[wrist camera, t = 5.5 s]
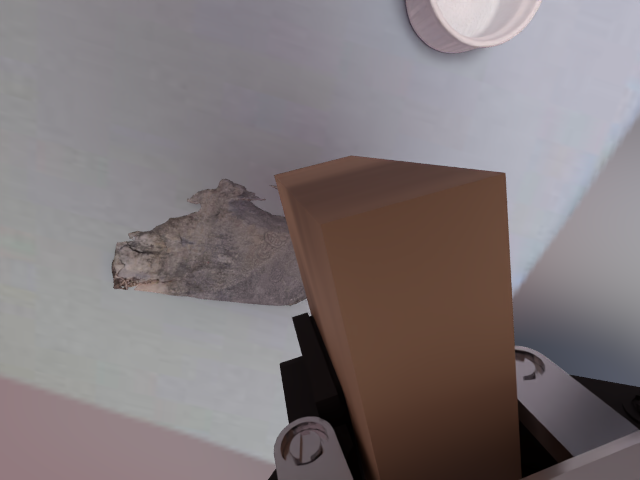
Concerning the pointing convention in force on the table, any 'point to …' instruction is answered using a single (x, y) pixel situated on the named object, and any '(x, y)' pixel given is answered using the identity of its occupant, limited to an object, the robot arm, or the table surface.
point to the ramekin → (469, 22)
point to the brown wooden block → (413, 311)
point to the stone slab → (215, 253)
